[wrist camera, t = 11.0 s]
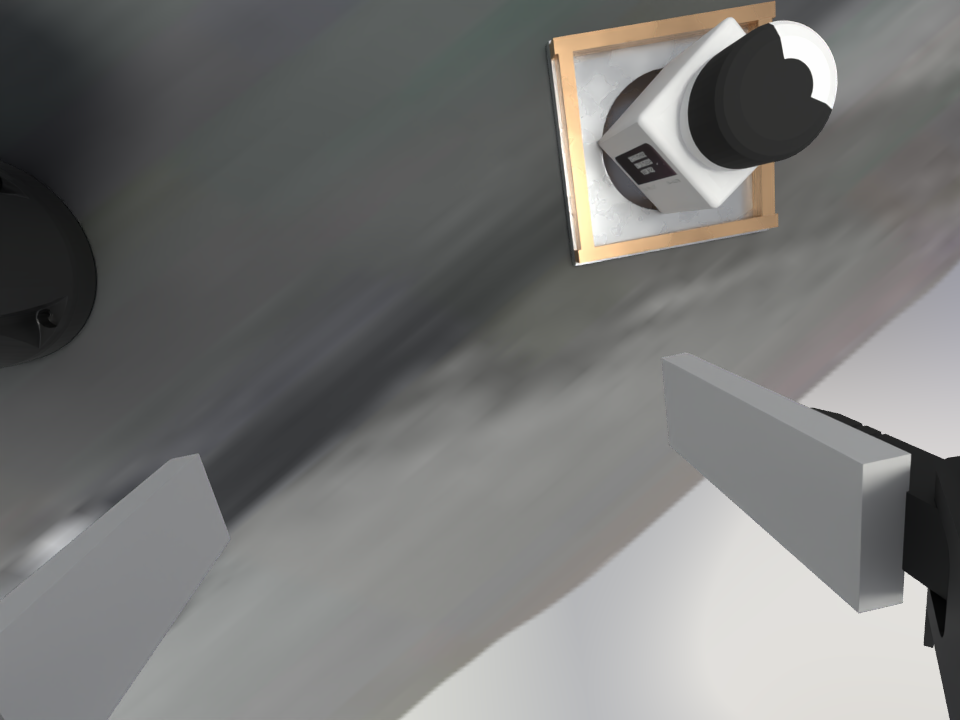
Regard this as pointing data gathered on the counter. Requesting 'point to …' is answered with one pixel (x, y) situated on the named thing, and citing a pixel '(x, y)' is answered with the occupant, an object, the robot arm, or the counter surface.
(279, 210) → the counter surface
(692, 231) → the wooden square frame
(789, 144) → the container
